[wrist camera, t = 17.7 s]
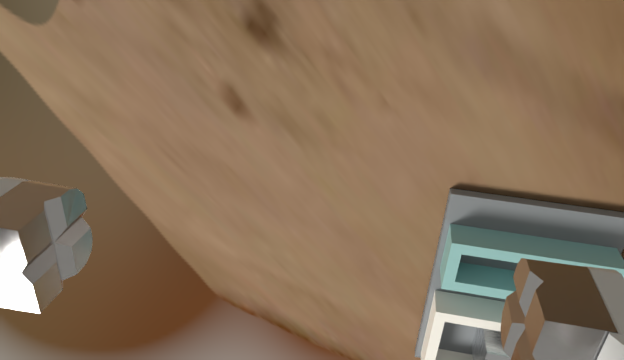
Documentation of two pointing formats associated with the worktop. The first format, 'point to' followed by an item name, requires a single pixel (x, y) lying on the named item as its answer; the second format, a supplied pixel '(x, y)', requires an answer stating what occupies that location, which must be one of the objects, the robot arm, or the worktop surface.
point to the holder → (503, 260)
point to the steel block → (488, 345)
